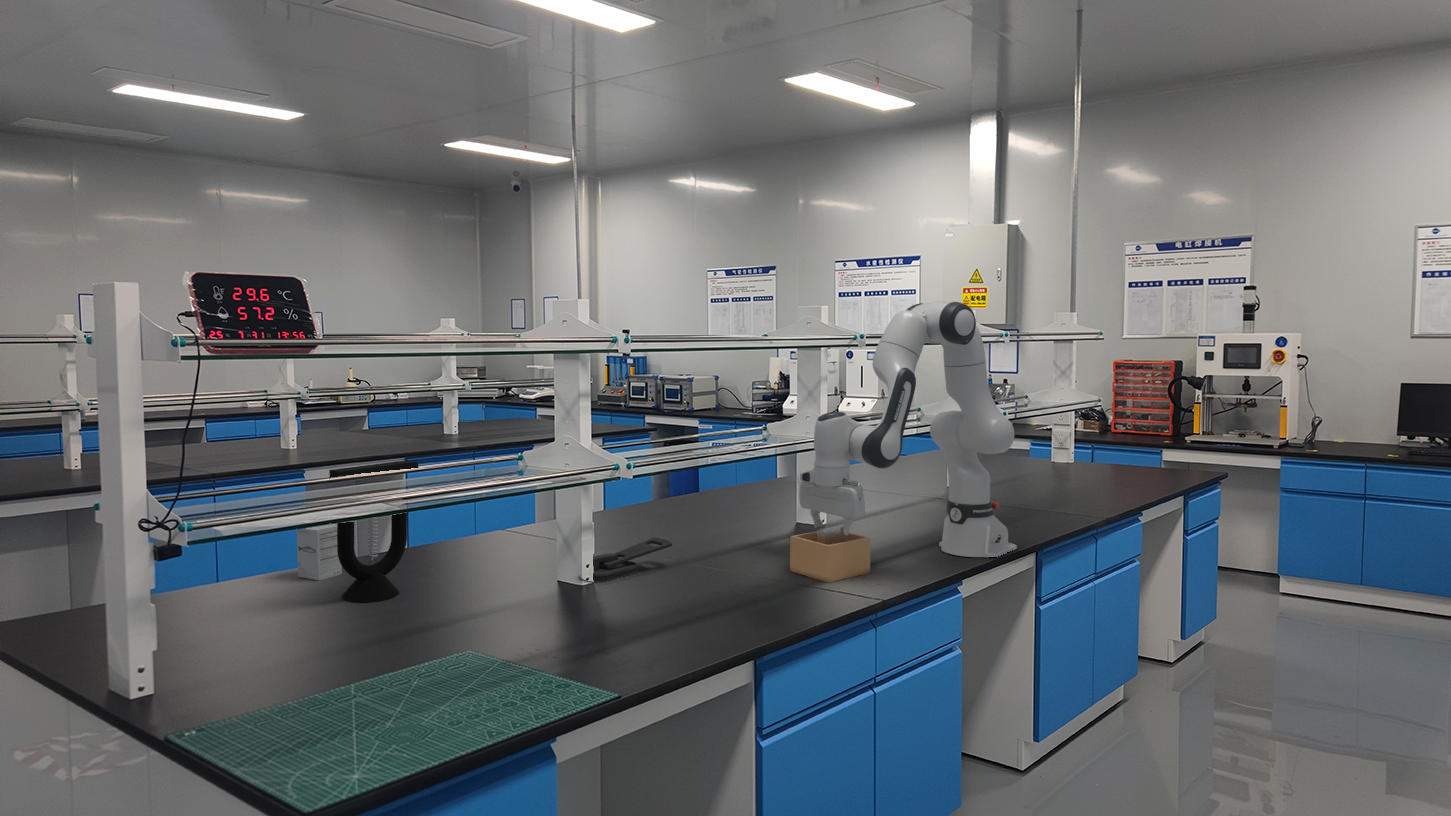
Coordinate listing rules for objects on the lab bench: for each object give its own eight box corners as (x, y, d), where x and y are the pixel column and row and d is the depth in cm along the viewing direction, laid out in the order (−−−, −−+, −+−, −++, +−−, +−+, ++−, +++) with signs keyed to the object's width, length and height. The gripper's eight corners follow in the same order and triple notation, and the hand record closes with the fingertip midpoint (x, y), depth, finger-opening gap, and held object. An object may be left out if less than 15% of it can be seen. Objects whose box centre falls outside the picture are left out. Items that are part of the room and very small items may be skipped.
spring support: (352, 609, 195) (348, 472, 192) (318, 600, 201) (314, 467, 199) (430, 587, 212) (427, 461, 210) (396, 579, 219) (393, 457, 216)
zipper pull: (675, 542, 232) (594, 557, 215) (675, 567, 232) (594, 584, 216) (654, 536, 238) (574, 550, 222) (654, 560, 239) (574, 577, 222)
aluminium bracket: (824, 571, 224) (825, 532, 224) (808, 566, 229) (808, 527, 228) (847, 566, 229) (847, 527, 229) (830, 561, 234) (831, 523, 233)
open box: (831, 562, 238) (832, 528, 237) (870, 572, 227) (870, 537, 226) (789, 571, 228) (790, 536, 228) (827, 582, 218) (828, 546, 217)
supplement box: (296, 577, 220) (295, 526, 219) (322, 570, 227) (320, 521, 226) (318, 581, 217) (316, 529, 216) (343, 574, 224) (341, 524, 223)
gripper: (871, 480, 220) (870, 536, 221) (812, 470, 236) (812, 522, 237) (853, 483, 216) (852, 540, 217) (795, 473, 232) (795, 526, 233)
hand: (831, 530), depth 227 cm, fingers open, 8 cm apart
